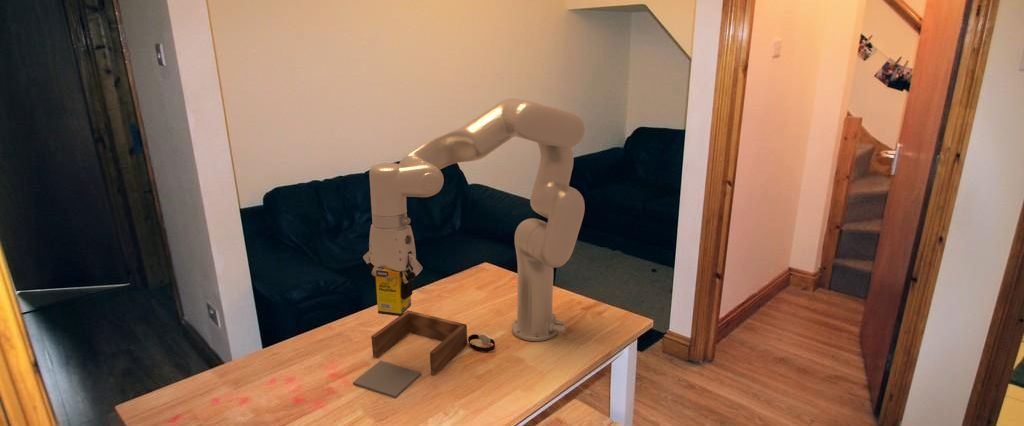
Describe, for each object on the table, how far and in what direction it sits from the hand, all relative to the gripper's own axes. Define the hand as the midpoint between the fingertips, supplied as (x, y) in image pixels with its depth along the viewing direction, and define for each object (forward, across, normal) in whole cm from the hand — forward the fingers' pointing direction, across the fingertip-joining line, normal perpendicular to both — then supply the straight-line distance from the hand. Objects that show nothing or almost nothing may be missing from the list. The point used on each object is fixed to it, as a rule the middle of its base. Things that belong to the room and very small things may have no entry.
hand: (393, 293), depth 123 cm
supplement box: (+5, 0, 0) cm, 5 cm away
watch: (+20, -13, -18) cm, 30 cm away
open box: (+20, 0, -9) cm, 22 cm away
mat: (+20, 0, +4) cm, 21 cm away
